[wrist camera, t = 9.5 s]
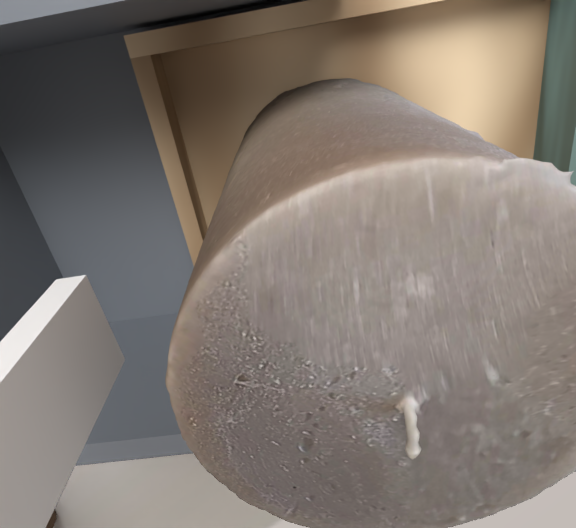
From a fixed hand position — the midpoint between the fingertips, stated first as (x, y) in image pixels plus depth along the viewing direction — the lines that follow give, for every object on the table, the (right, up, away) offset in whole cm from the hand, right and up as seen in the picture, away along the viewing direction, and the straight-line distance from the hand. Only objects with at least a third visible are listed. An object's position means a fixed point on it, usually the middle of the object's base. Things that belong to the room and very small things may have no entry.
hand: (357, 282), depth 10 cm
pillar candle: (+1, +4, +10) cm, 11 cm away
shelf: (+2, +6, +11) cm, 13 cm away
